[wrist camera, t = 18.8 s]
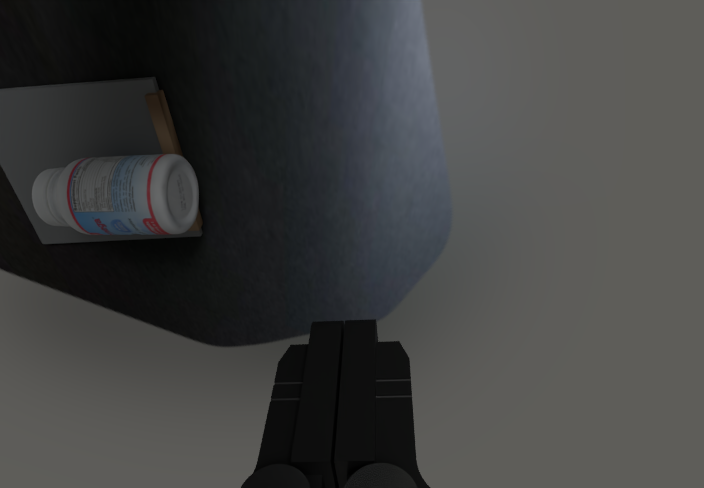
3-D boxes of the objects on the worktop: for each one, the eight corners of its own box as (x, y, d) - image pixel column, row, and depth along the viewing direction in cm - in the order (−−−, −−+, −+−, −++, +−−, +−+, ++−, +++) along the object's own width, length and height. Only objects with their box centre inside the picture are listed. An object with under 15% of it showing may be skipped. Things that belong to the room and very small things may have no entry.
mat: (-32, 91, 39) (-37, 93, 39) (155, 76, 38) (152, 79, 37) (46, 240, 47) (42, 244, 47) (202, 232, 46) (200, 236, 45)
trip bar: (150, 90, 38) (144, 96, 37) (162, 89, 38) (157, 94, 37) (192, 223, 45) (188, 231, 44) (203, 223, 45) (199, 230, 44)
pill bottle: (202, 234, 41) (82, 236, 43) (202, 160, 41) (81, 165, 43) (160, 233, 35) (23, 235, 38) (159, 146, 35) (22, 153, 38)
